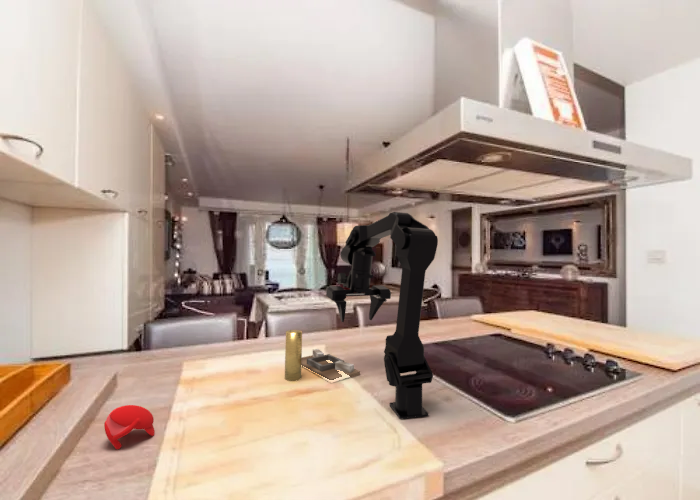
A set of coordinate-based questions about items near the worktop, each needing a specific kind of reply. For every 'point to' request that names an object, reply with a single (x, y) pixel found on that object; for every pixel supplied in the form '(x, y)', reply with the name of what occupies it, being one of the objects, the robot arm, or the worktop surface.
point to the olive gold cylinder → (293, 355)
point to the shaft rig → (328, 365)
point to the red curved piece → (127, 422)
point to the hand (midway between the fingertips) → (356, 320)
